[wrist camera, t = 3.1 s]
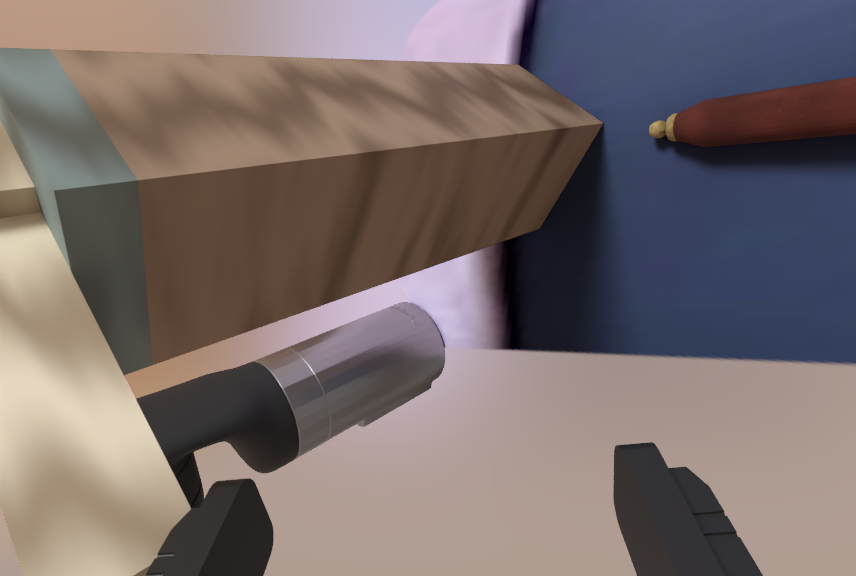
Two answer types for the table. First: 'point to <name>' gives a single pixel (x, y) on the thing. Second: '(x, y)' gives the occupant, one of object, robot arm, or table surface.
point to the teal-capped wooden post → (273, 178)
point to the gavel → (766, 116)
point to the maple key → (68, 415)
